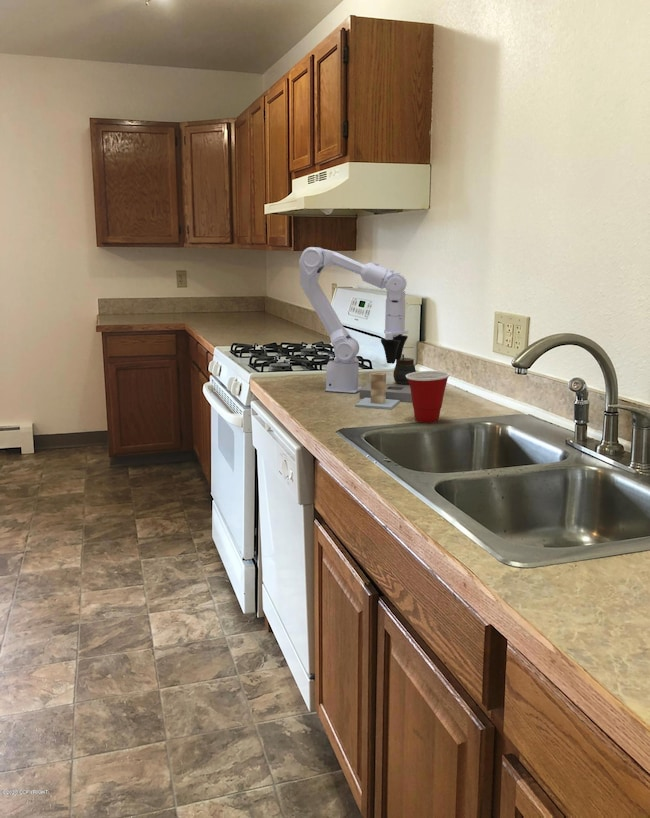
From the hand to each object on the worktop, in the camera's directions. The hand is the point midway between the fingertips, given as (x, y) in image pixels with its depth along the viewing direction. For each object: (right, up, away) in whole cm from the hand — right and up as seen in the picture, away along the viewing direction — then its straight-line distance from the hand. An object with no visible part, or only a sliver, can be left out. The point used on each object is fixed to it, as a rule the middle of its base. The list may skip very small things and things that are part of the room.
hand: (393, 361), depth 212 cm
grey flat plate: (0, -11, -4) cm, 11 cm away
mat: (-6, -13, -15) cm, 20 cm away
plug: (-6, -12, -15) cm, 20 cm away
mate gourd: (+5, -6, +17) cm, 19 cm away
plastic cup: (+5, -17, -32) cm, 37 cm away
